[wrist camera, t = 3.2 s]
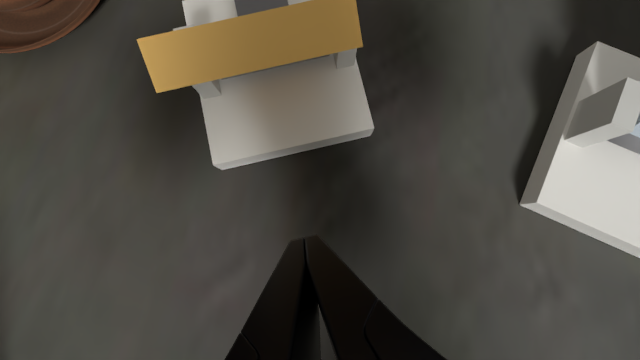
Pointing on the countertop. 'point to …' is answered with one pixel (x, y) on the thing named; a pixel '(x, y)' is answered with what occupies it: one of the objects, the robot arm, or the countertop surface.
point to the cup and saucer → (39, 21)
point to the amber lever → (251, 43)
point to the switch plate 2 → (592, 151)
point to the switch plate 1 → (278, 98)
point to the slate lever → (629, 139)
